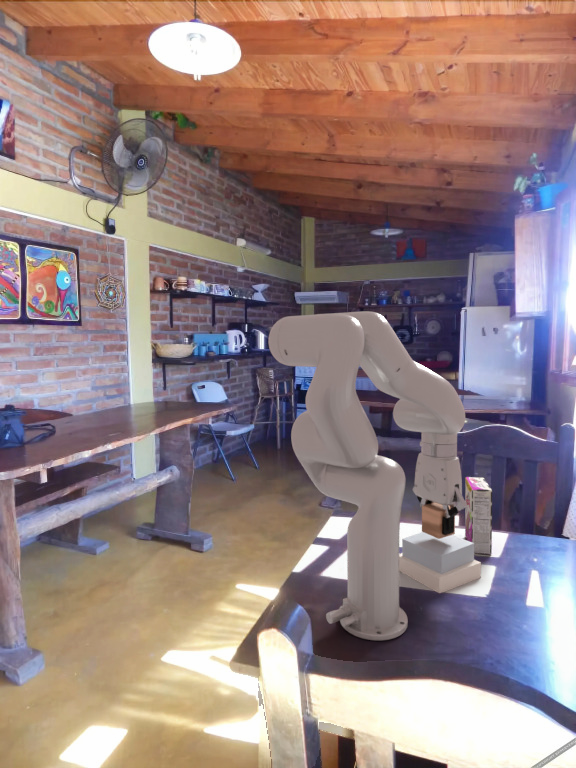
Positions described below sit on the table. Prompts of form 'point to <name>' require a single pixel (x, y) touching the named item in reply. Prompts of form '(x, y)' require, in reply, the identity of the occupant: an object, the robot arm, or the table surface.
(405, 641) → the table surface
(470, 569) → the tower base
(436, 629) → the table surface
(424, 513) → the terracotta block
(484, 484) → the candy bar box
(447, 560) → the tower top
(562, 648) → the table surface
